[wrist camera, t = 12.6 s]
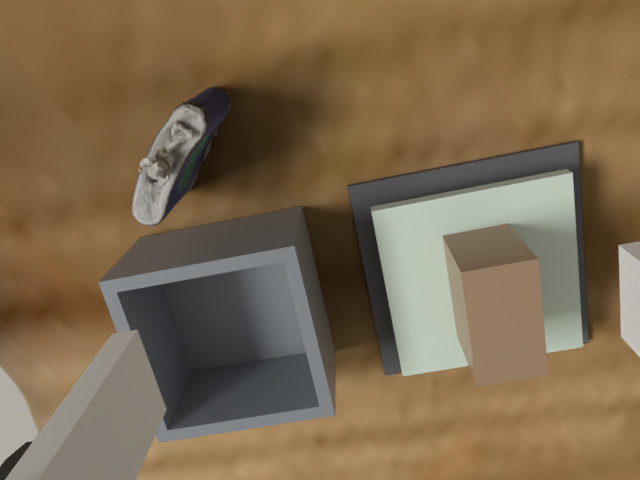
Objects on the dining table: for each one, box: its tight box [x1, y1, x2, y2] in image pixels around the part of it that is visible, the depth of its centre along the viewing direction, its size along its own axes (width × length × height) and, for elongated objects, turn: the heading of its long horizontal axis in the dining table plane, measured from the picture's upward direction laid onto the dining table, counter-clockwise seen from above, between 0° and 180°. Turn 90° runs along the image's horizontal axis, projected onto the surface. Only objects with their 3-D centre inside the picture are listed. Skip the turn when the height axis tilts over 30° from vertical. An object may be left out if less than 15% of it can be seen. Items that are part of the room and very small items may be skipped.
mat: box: [348, 141, 589, 375], centre depth 48 cm, size 18×18×1 cm
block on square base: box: [370, 169, 583, 387], centre depth 43 cm, size 15×15×10 cm
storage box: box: [98, 206, 336, 443], centre depth 45 cm, size 14×14×9 cm
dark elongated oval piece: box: [131, 87, 231, 226], centre depth 40 cm, size 9×3×11 cm, turn 151°
